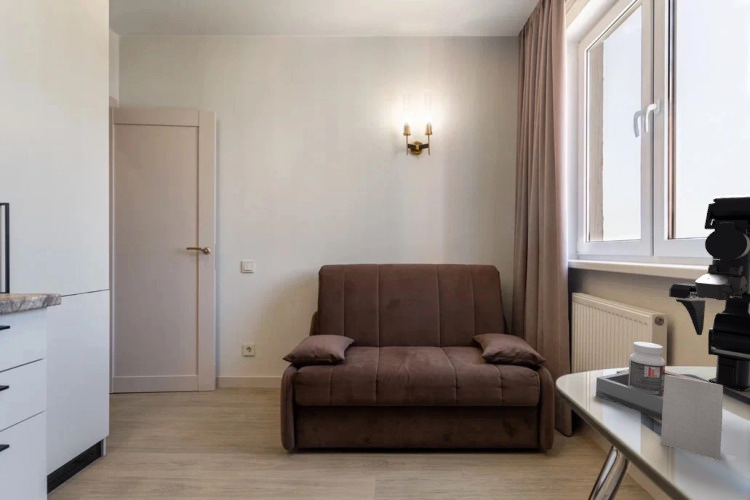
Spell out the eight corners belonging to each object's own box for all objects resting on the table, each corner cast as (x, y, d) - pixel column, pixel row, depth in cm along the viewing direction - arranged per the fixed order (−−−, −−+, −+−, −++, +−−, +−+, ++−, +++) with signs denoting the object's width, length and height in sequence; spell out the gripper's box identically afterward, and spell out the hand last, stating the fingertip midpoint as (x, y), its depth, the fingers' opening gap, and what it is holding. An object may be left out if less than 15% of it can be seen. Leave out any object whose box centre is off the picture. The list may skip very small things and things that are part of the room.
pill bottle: (669, 403, 74) (672, 349, 74) (635, 400, 75) (638, 347, 75) (654, 392, 80) (657, 342, 79) (622, 389, 81) (625, 339, 80)
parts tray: (631, 387, 85) (632, 370, 85) (698, 408, 75) (699, 390, 75) (595, 394, 80) (596, 377, 80) (662, 419, 69) (663, 399, 69)
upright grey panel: (719, 460, 56) (724, 389, 56) (660, 443, 60) (664, 377, 60) (717, 449, 59) (721, 382, 59) (661, 435, 63) (665, 371, 63)
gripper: (656, 257, 83) (652, 332, 83) (778, 262, 66) (772, 357, 67) (685, 258, 88) (681, 329, 88) (805, 263, 72) (800, 351, 72)
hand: (726, 340), depth 79 cm, fingers open, 9 cm apart
